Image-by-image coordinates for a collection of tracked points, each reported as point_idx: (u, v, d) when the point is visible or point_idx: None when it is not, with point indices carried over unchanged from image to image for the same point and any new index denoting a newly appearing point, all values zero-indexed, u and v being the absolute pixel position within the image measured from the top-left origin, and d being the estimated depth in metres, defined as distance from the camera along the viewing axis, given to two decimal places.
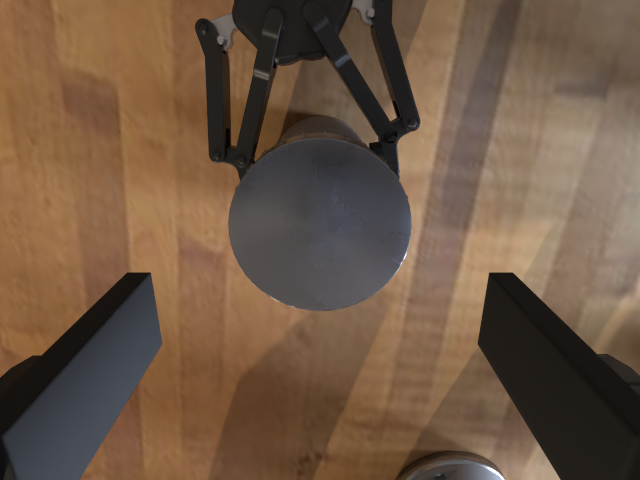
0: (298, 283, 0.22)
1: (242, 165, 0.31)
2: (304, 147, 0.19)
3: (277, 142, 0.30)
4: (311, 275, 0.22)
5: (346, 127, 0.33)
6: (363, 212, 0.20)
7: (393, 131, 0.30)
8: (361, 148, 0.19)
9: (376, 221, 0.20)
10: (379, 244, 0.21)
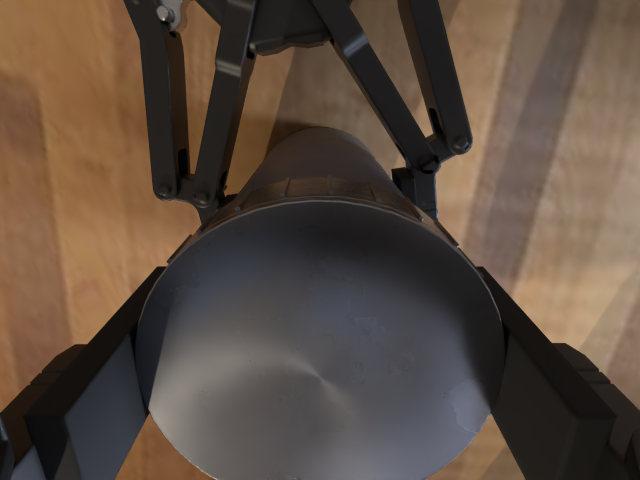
0: (278, 464, 0.11)
1: (204, 204, 0.21)
2: (286, 219, 0.09)
3: None
4: (303, 451, 0.11)
5: (358, 146, 0.22)
6: (408, 344, 0.10)
7: (431, 155, 0.20)
8: (410, 221, 0.09)
9: (434, 360, 0.10)
10: (438, 400, 0.11)
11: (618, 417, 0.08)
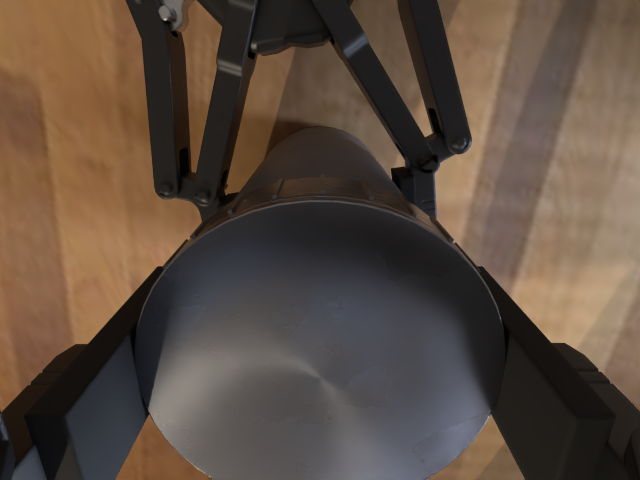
0: (406, 442, 0.11)
1: (205, 203, 0.21)
2: (149, 351, 0.10)
3: (255, 171, 0.20)
4: (401, 419, 0.11)
5: (358, 146, 0.22)
6: (313, 294, 0.09)
7: (430, 154, 0.20)
8: (178, 257, 0.09)
9: (343, 276, 0.09)
10: (396, 286, 0.09)
11: (617, 417, 0.08)
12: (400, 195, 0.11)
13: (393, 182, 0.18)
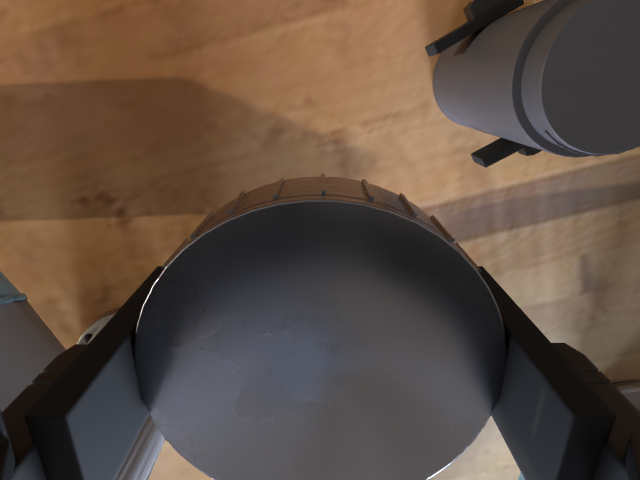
0: (406, 443, 0.11)
1: None
2: (148, 350, 0.10)
3: None
4: (401, 419, 0.11)
5: None
6: (313, 294, 0.09)
7: None
8: (178, 256, 0.09)
9: (343, 276, 0.09)
10: (397, 286, 0.09)
11: (617, 417, 0.08)
12: (401, 195, 0.11)
13: None
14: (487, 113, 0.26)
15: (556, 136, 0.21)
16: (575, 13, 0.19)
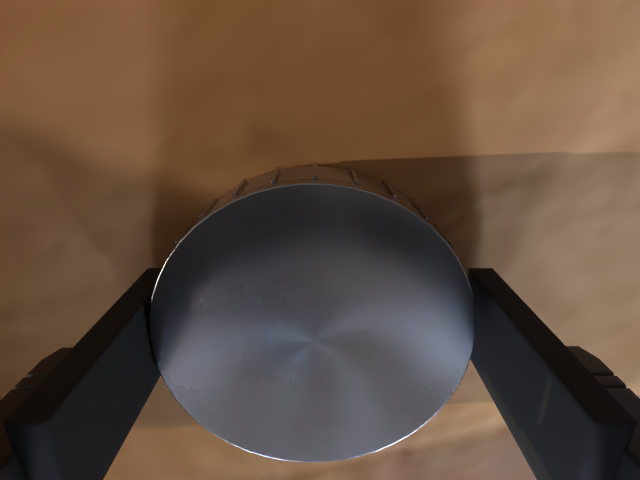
0: (390, 401, 0.12)
1: None
2: (162, 318, 0.11)
3: None
4: (385, 379, 0.12)
5: None
6: (307, 266, 0.11)
7: None
8: (189, 233, 0.10)
9: (333, 250, 0.11)
10: (379, 259, 0.11)
11: None
12: (384, 181, 0.12)
13: None
14: None
15: None
16: None
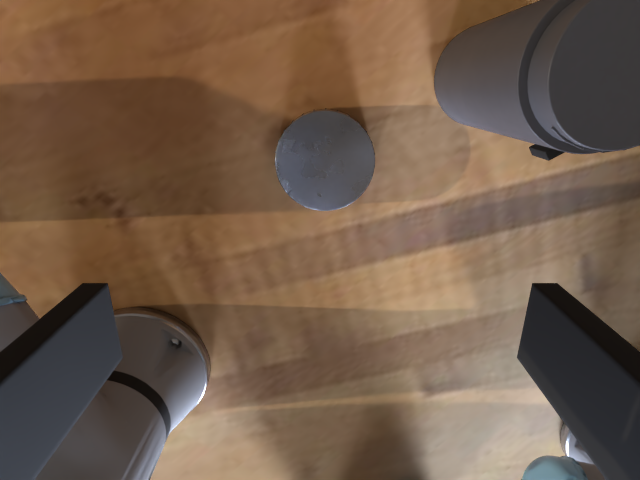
0: (349, 185, 0.39)
1: None
2: (279, 153, 0.38)
3: None
4: (347, 176, 0.38)
5: None
6: (323, 136, 0.37)
7: None
8: (290, 125, 0.37)
9: (330, 131, 0.37)
10: (344, 134, 0.37)
11: None
12: (347, 114, 0.38)
13: None
14: (491, 110, 0.26)
15: (563, 132, 0.21)
16: (583, 8, 0.18)
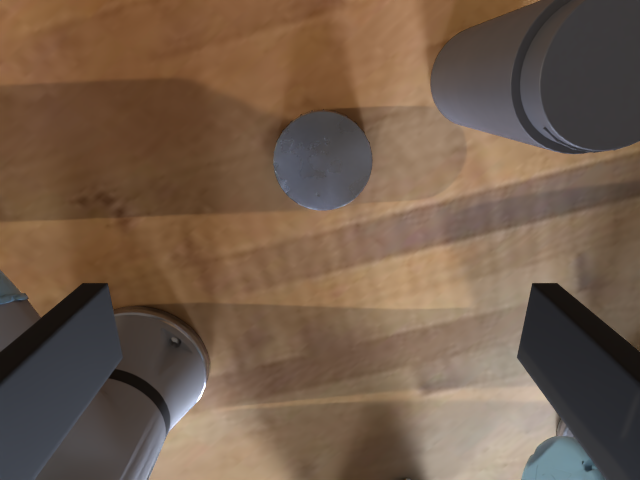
0: (347, 185, 0.39)
1: None
2: (278, 154, 0.38)
3: None
4: (345, 176, 0.39)
5: None
6: (321, 137, 0.37)
7: None
8: (288, 126, 0.37)
9: (328, 131, 0.37)
10: (342, 134, 0.37)
11: None
12: (345, 115, 0.39)
13: None
14: (485, 111, 0.27)
15: (555, 133, 0.21)
16: (573, 11, 0.19)
